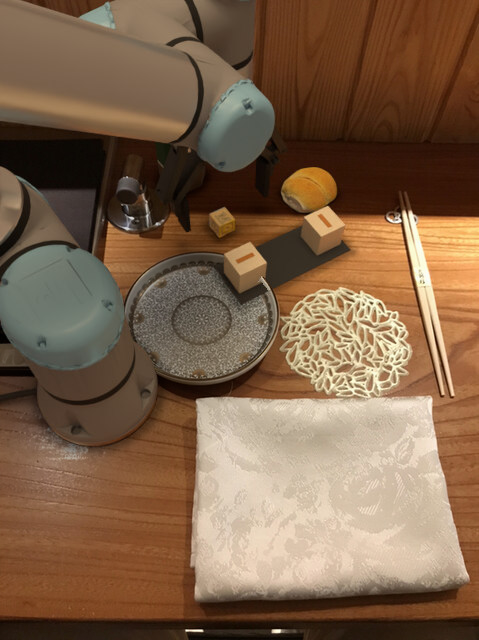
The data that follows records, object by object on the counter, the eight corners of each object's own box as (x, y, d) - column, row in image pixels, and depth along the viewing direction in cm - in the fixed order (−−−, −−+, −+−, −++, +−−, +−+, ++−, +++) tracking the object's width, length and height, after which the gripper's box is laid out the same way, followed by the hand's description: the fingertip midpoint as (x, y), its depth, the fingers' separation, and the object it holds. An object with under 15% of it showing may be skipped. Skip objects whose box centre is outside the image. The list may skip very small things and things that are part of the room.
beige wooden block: (317, 255, 86) (321, 236, 83) (300, 236, 88) (303, 216, 85) (340, 244, 88) (345, 224, 84) (323, 225, 90) (328, 205, 86)
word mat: (241, 306, 82) (241, 304, 81) (213, 268, 85) (213, 266, 85) (350, 251, 88) (351, 250, 87) (320, 218, 91) (321, 216, 91)
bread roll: (344, 193, 94) (348, 175, 91) (310, 222, 91) (313, 205, 87) (306, 169, 97) (309, 150, 94) (271, 196, 93) (273, 178, 90)
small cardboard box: (239, 293, 82) (240, 275, 78) (223, 272, 84) (223, 253, 80) (265, 281, 84) (267, 262, 80) (249, 260, 86) (250, 241, 82)
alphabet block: (224, 219, 90) (224, 206, 88) (235, 231, 89) (235, 218, 87) (208, 227, 90) (208, 213, 87) (219, 239, 88) (219, 226, 86)
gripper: (141, 141, 62) (162, 258, 81) (323, 70, 69) (305, 193, 87) (112, 103, 66) (139, 224, 84) (289, 39, 73) (278, 163, 91)
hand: (224, 208), depth 86 cm, fingers open, 13 cm apart
